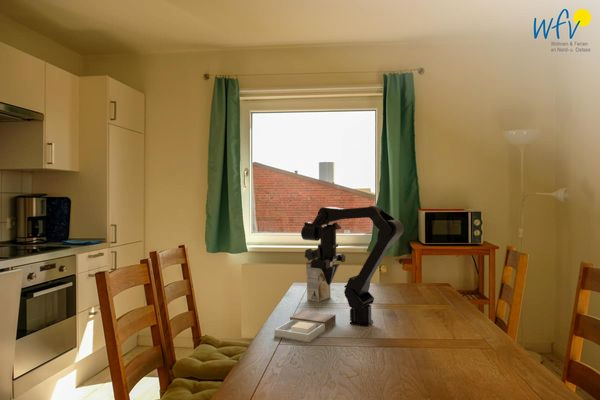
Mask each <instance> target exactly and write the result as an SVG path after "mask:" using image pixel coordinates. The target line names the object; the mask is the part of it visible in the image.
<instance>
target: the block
mask: <svg viewBox="0 0 600 400" xmlns="http://www.w3.org/2000/svg"><path fill="white" fill-rule="evenodd" d="M314 329H316V324H314V323H307V322H298V323H296V324H295V325H293V326H291V331H292V332H299V333H305V334H308V333H310V332H311V331H313V330H314Z"/></svg>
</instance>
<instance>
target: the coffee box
mask: <svg viewBox="0 0 600 400" xmlns="http://www.w3.org/2000/svg"><path fill="white" fill-rule="evenodd" d="M310 262H311V261H308V262H306V299H307V301H311V300H312V301H311V302H318V303H319V302H322V301H324V300H327V299H330V298H331V284H330V285H328V284H327V282H326V279H325V276H324V273H323V271H322V270H321V269H320V268H310Z"/></svg>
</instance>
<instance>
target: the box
mask: <svg viewBox="0 0 600 400" xmlns="http://www.w3.org/2000/svg"><path fill="white" fill-rule="evenodd" d="M298 322H307V323H314V324H316V329H314V330H313V331H311V332H310V333H308V334H305V333H299V332H292V331H291V326H293V325H295V324H296V323H298ZM324 332H326V331H325V324H323V323H316V322H309V321H302V320H295V319H292V320H289V321H287V322H285V323H283V324H281V325H280V326H278V327H276V328H274V338H278V339H279V338H280V339H285V340H291V341H296V342H303V343H310V342H312V341H313V340H315V339H317V337H319V336H321V334H323V333H324Z"/></svg>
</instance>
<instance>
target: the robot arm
mask: <svg viewBox="0 0 600 400" xmlns="http://www.w3.org/2000/svg"><path fill="white" fill-rule="evenodd" d="M364 218H365V219H366V218H370V220H371V222H372V224H373V225H374V226H375V227H376V228H377V229H378V231H377V233H376V234H377V235H376V243H375V244H374V246H373V248H372V250H371V252H370V253H369V254H368V256H367V259H366V260H365V262H364V263H363V265H362V267H361V268H360V270H359V273H358V274H357V275H354V276H351V277H349V279H348V280H347V283H346V285H344V286H343V287H344V288H345V289H344V291H343V293H344V296H345V298H346V300H347V303H348V306H349V307H350V309H349V325H353V326H354V325H355V326H360V327H369V326H370V325H371V324H372V323H373V322H374V319H372V304H374V301H375V297H374V296H373V295H372V294H371V292H370V291H369V290H370V287H371V280H372V279H373V276H374V275H375V273H376V271H377V269H378V268H379V266H380V264H381V262H382V261H383V259H384V257H385V255H386V254H387V252H388V250H389V249H390V247H391V246H392V245H393V244H395V242H397V241H398V240H399V239H400V237H401V236H402V235H403V234H404V231H405V228H404V227H405V226H404V225H403V222H401V221H400V220H398V219H395V218H394V217H393V216H392V215H391V214H389V213H388V212H386V211H384V210H383V209H382V208H381V206H378V205H369V206H365V207H364V206H363V207H353V208H351V207H350V208H342V207H334V206H325V207H321V208H319V209H318V212H317V215H316V217H315V218H314V220H313V221H312V222H311V221H306V222H305V221H304V225H303V227H302V228H301V231H300V235H301V238H302V240H304V241H317V242H318V241H320V243H319V244H318V245H317V249H312V248H308V249H305V252H304V258H306V259H307V261H308V262H310V268H320V269H321V270H322V271H323V273H324V276H325V279H326V282H327V284H328V285H330V286H331V284H332V281H333V279H334V277H335V275H336V273H337V270H338V268H339V266H340V264H339V263H337V262H340V263H344V262H346V255H344V253H337V248H338V247H339V243H337V230H342V226H341V225H339V223H338V222H340V221H343V220H348V219H349V220H350V219H364ZM331 223H332V224H331Z"/></svg>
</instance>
